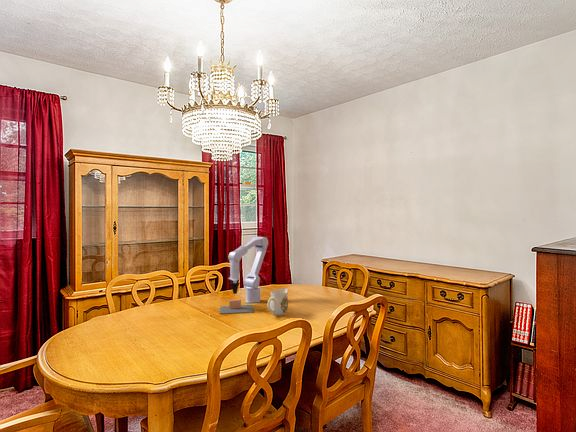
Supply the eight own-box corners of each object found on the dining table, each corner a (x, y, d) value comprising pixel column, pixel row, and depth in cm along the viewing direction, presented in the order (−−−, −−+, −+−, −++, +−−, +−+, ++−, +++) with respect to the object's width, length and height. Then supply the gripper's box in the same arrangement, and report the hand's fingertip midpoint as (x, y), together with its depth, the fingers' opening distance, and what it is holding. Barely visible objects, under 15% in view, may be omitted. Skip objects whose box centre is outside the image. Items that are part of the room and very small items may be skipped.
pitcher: (260, 316, 197) (260, 292, 197) (280, 308, 212) (280, 286, 211) (275, 320, 191) (275, 295, 190) (294, 312, 205) (294, 289, 205)
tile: (240, 307, 213) (240, 299, 213) (240, 308, 211) (240, 300, 211) (229, 307, 212) (229, 299, 212) (229, 308, 210) (229, 300, 210)
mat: (252, 305, 218) (252, 304, 218) (253, 312, 204) (253, 311, 204) (220, 307, 215) (220, 306, 215) (219, 314, 201) (219, 313, 201)
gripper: (228, 268, 222) (228, 289, 223) (228, 273, 208) (228, 295, 208) (239, 268, 223) (239, 289, 224) (240, 272, 209) (240, 294, 210)
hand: (235, 292), depth 216 cm, fingers open, 7 cm apart
